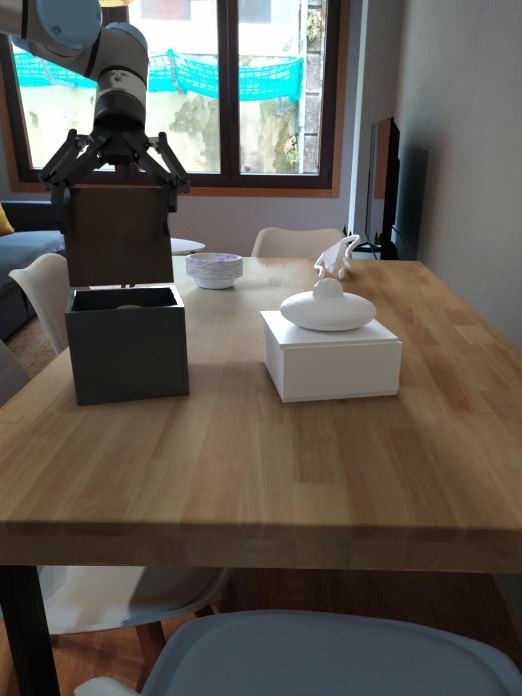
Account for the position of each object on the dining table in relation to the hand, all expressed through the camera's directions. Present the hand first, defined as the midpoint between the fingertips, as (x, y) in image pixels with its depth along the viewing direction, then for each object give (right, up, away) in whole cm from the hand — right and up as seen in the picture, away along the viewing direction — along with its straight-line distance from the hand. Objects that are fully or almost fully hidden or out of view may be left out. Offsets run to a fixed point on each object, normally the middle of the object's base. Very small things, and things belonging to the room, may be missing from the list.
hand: (113, 228), depth 73 cm
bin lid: (-2, +2, +10) cm, 10 cm away
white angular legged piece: (+39, +12, +92) cm, 101 cm away
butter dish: (+29, -20, +15) cm, 38 cm away
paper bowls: (+3, +6, +75) cm, 76 cm away
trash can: (-1, -21, +11) cm, 23 cm away
